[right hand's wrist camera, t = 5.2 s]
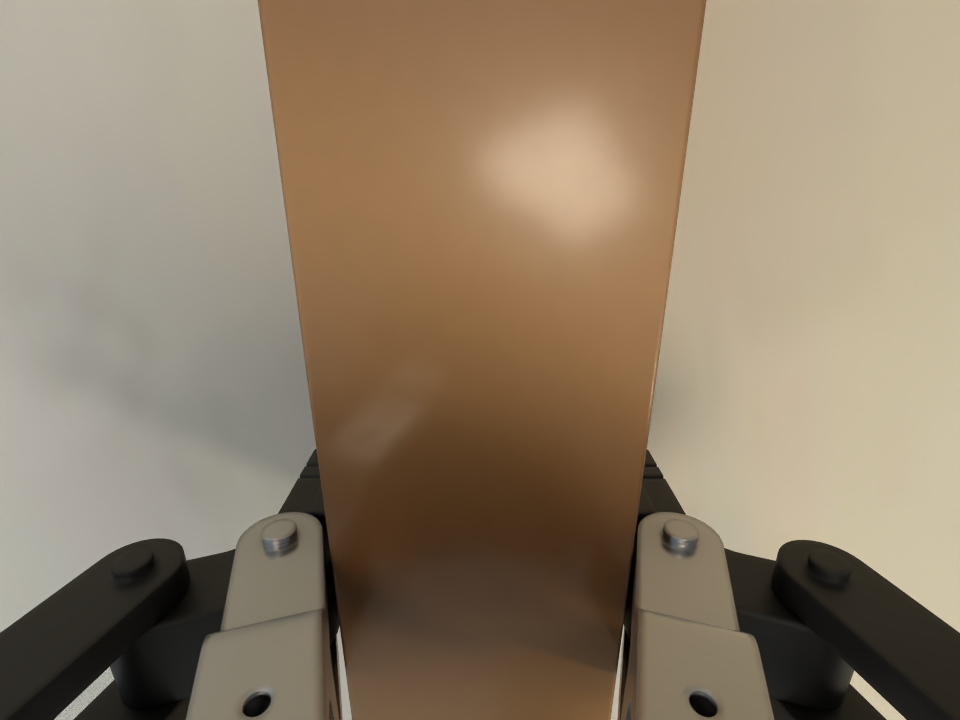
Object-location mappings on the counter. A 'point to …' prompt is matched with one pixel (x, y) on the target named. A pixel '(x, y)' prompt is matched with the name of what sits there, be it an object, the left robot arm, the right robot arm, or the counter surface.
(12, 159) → the counter surface
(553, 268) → the bar
